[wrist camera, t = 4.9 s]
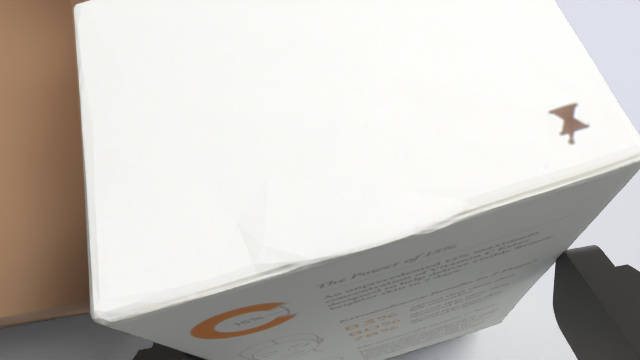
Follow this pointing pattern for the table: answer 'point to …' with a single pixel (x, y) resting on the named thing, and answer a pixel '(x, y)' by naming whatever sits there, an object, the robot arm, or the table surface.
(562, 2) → the table surface
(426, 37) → the small box
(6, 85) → the podium
